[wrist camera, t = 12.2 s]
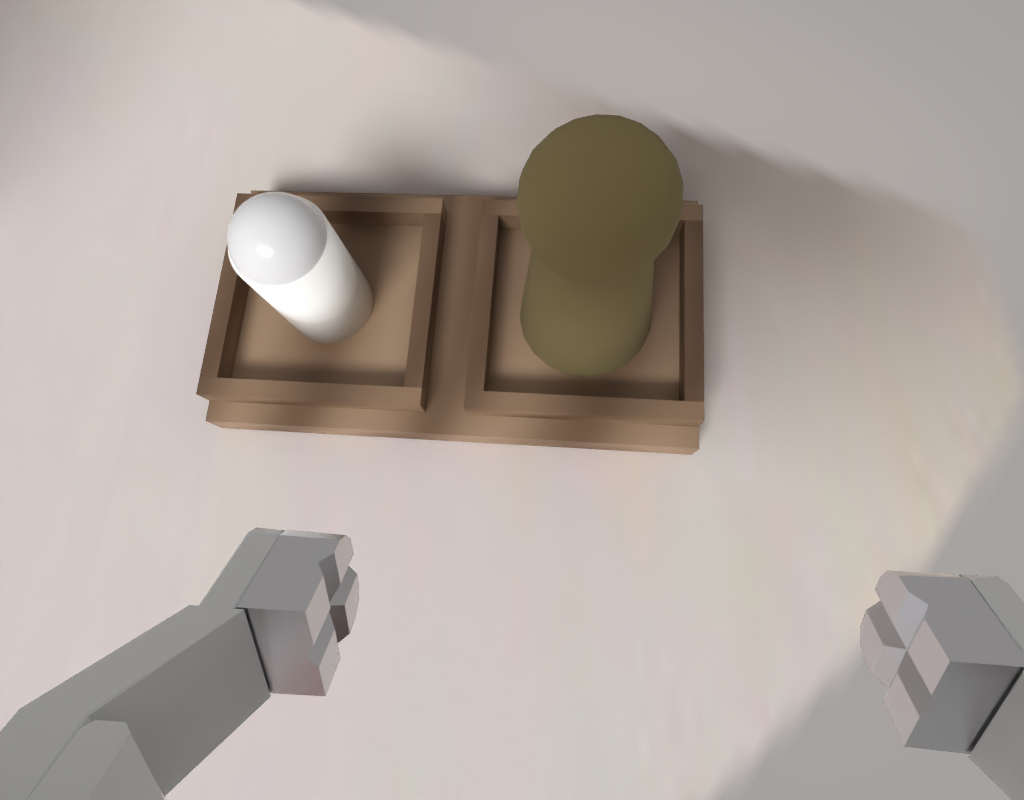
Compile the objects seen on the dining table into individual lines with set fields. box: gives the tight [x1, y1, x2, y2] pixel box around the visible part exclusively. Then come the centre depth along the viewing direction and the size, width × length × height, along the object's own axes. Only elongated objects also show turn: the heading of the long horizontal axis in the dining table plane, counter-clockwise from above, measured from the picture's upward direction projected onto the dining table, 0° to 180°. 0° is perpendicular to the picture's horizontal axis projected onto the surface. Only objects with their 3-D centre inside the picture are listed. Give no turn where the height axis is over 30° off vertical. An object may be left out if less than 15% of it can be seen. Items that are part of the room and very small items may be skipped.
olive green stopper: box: [517, 114, 683, 377], centre depth 23 cm, size 6×6×11 cm
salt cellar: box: [227, 192, 374, 343], centre depth 26 cm, size 4×4×8 cm
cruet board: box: [196, 191, 704, 454], centre depth 29 cm, size 22×12×3 cm, turn 86°
